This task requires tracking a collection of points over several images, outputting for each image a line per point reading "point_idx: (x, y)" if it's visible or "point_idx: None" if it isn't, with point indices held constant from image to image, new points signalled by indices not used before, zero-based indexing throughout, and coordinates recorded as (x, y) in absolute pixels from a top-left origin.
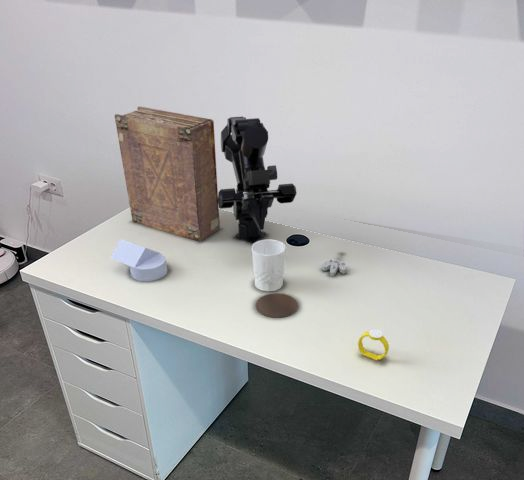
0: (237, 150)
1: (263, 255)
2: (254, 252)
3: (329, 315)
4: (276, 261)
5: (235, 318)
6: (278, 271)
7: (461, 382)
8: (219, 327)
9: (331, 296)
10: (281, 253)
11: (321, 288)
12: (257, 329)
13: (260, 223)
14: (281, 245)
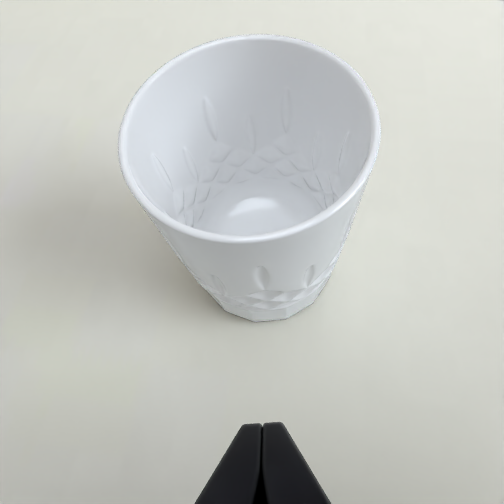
0: None
1: (296, 40)
2: (357, 75)
3: (93, 64)
4: (217, 84)
5: (410, 63)
6: (214, 149)
7: None
8: (463, 27)
9: (38, 156)
10: (173, 63)
11: (50, 208)
12: (334, 17)
13: (272, 458)
14: (140, 185)
